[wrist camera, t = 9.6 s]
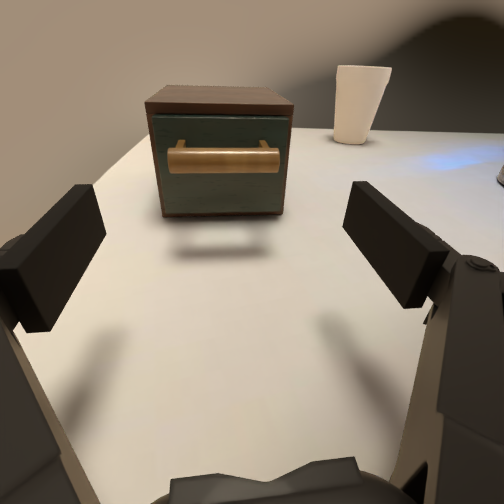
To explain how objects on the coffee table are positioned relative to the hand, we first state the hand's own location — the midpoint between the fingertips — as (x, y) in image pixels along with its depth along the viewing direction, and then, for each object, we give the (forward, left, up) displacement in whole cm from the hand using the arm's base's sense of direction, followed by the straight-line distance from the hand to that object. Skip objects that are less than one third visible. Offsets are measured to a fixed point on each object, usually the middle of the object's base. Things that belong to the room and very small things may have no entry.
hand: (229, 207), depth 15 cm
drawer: (+13, -11, -7) cm, 18 cm away
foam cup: (+18, -51, -8) cm, 55 cm away
